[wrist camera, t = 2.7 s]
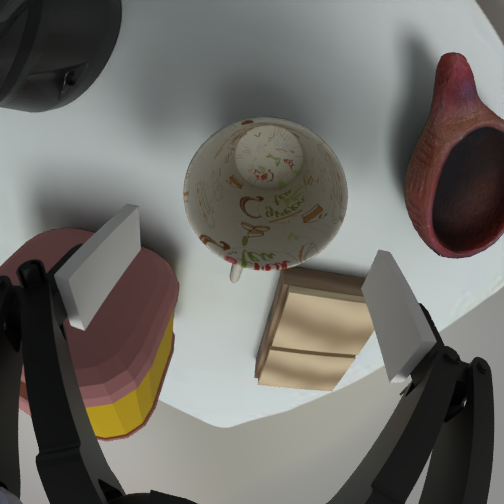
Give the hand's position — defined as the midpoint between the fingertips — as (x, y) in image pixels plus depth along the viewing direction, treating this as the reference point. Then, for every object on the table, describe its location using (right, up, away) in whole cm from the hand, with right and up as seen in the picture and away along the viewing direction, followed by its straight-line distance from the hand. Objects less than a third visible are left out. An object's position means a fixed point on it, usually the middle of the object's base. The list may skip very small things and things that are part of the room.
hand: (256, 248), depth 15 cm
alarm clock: (-16, -2, +15) cm, 22 cm away
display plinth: (+7, -9, +17) cm, 21 cm away
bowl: (+16, +8, +6) cm, 19 cm away
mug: (+1, +6, +9) cm, 11 cm away
